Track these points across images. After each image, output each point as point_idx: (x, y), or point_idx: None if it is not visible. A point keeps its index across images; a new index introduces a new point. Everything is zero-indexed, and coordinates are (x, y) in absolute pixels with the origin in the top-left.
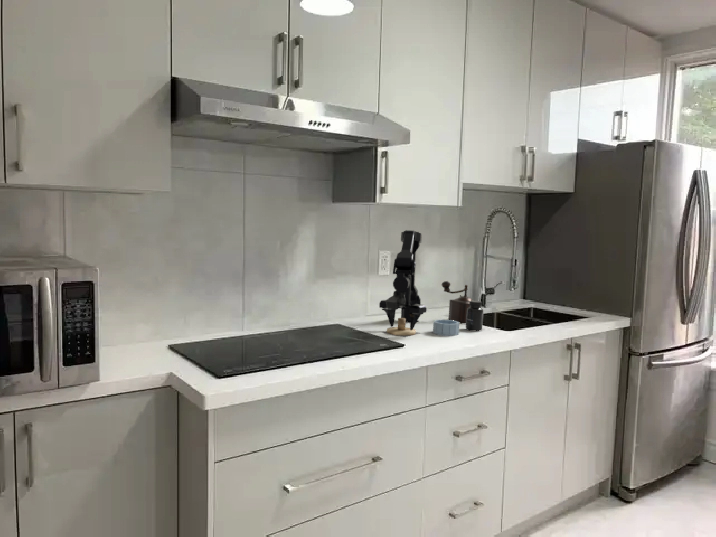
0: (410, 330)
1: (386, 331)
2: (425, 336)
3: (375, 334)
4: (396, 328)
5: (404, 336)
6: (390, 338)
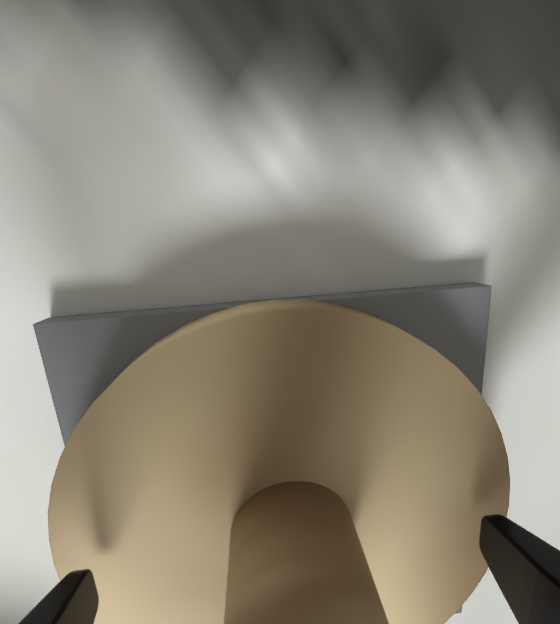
0: (168, 599)
1: None
2: (19, 619)
3: (519, 180)
4: (398, 535)
5: (68, 346)
6: (185, 134)
